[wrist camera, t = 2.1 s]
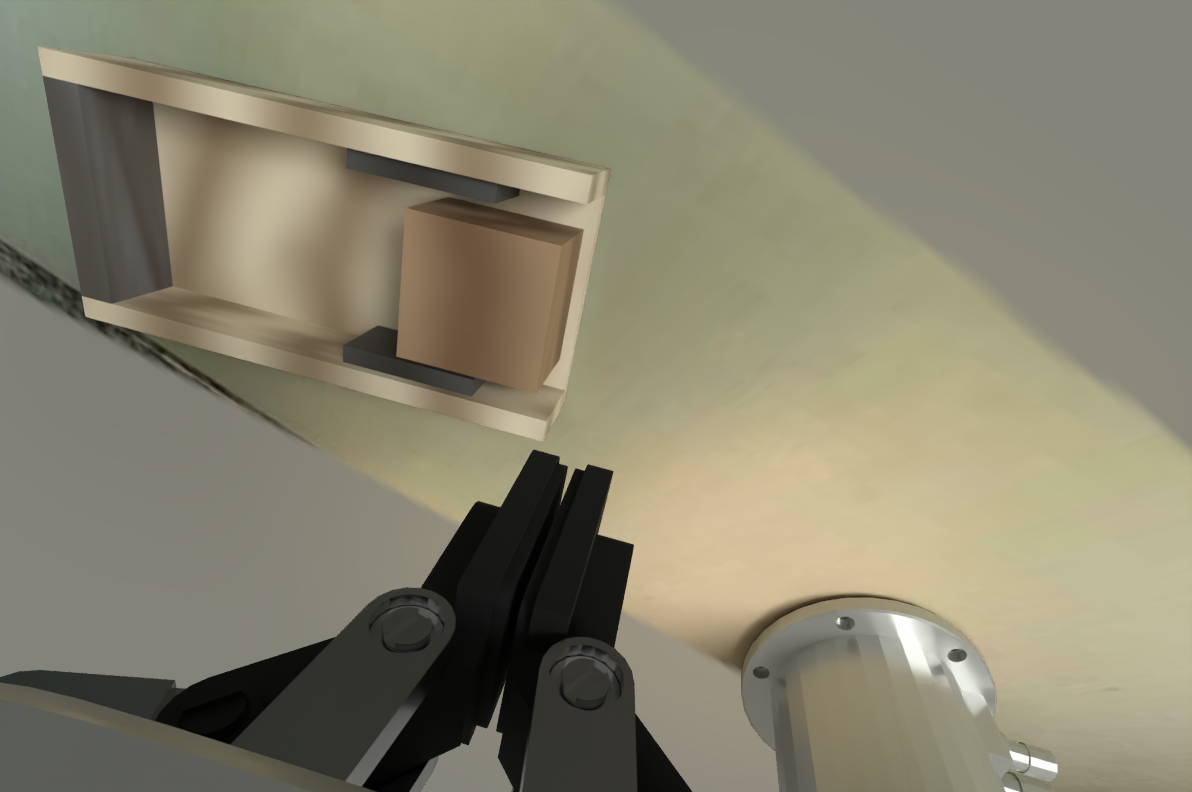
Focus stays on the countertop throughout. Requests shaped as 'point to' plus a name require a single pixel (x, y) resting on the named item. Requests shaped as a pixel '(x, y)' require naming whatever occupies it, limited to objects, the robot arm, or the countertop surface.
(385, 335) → the chute
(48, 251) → the countertop surface
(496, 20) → the countertop surface
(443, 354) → the block
